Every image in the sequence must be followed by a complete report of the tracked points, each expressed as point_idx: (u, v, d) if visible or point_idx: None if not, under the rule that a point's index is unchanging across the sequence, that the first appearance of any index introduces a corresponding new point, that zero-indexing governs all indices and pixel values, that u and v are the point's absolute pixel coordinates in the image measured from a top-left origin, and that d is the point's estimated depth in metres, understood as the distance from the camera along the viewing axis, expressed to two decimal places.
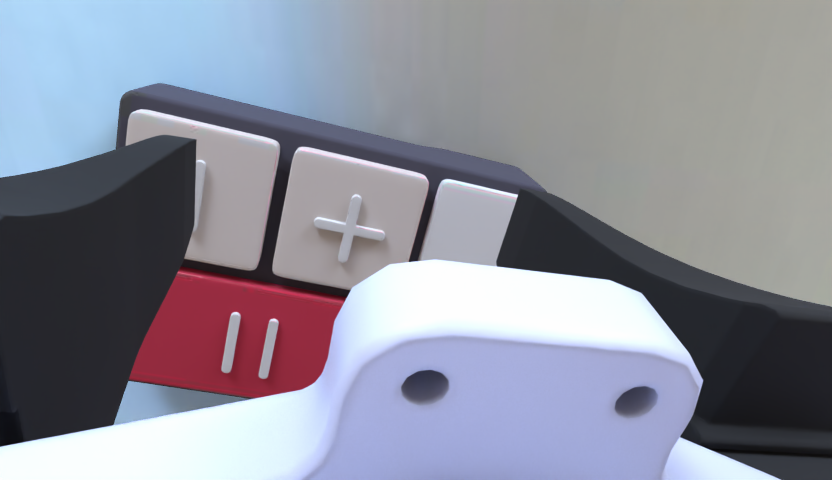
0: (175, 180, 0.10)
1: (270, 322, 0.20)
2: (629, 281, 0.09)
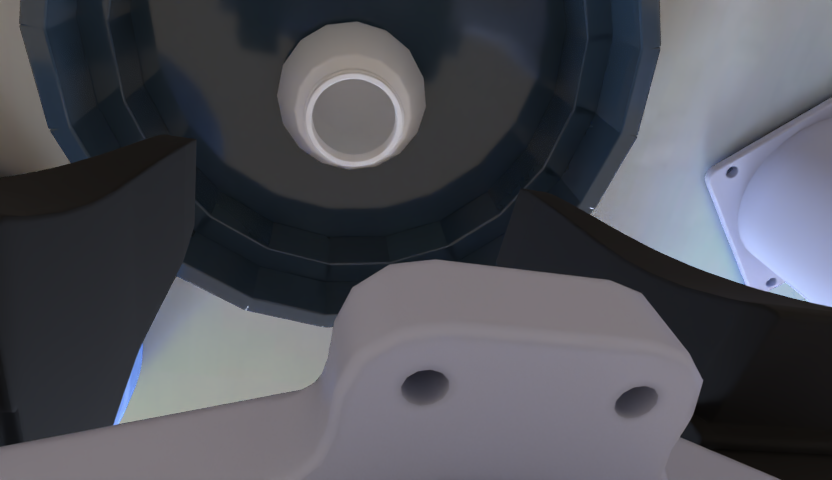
0: (175, 180, 0.10)
1: None
2: (628, 281, 0.09)
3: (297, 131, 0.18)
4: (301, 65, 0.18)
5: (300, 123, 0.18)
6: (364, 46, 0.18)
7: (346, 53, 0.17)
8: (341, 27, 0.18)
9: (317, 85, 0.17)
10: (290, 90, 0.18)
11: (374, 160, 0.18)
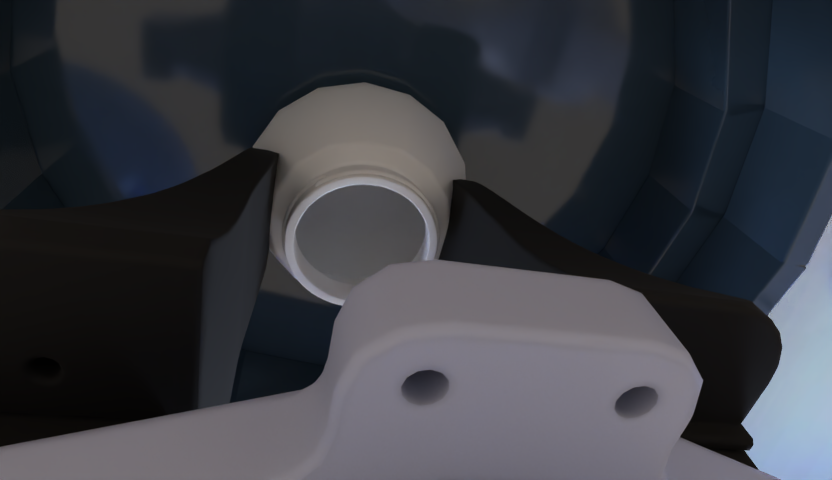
0: (268, 193, 0.10)
1: None
2: (524, 270, 0.08)
3: (273, 252, 0.12)
4: None
5: (277, 242, 0.12)
6: (377, 126, 0.11)
7: (349, 139, 0.11)
8: (341, 93, 0.12)
9: (302, 193, 0.11)
10: None
11: None
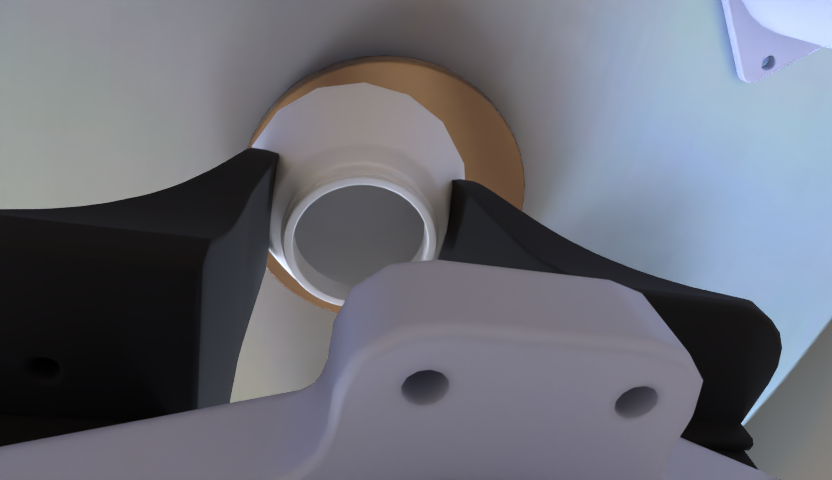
0: (268, 193, 0.10)
1: None
2: (524, 269, 0.08)
3: (272, 252, 0.12)
4: None
5: (276, 242, 0.12)
6: (376, 126, 0.11)
7: (348, 139, 0.11)
8: (340, 94, 0.12)
9: (301, 193, 0.11)
10: None
11: None
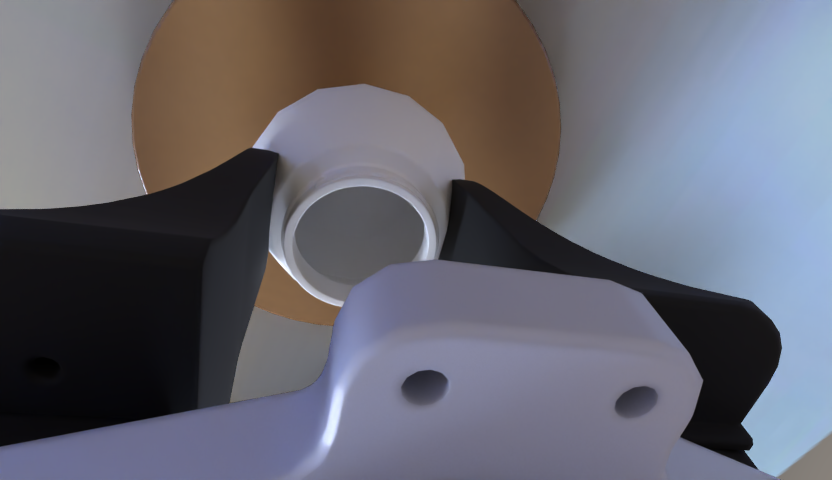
0: (268, 193, 0.10)
1: None
2: (524, 270, 0.08)
3: (273, 253, 0.12)
4: (278, 156, 0.11)
5: (277, 244, 0.12)
6: (377, 128, 0.11)
7: (348, 141, 0.11)
8: (340, 95, 0.12)
9: (302, 195, 0.11)
10: None
11: None
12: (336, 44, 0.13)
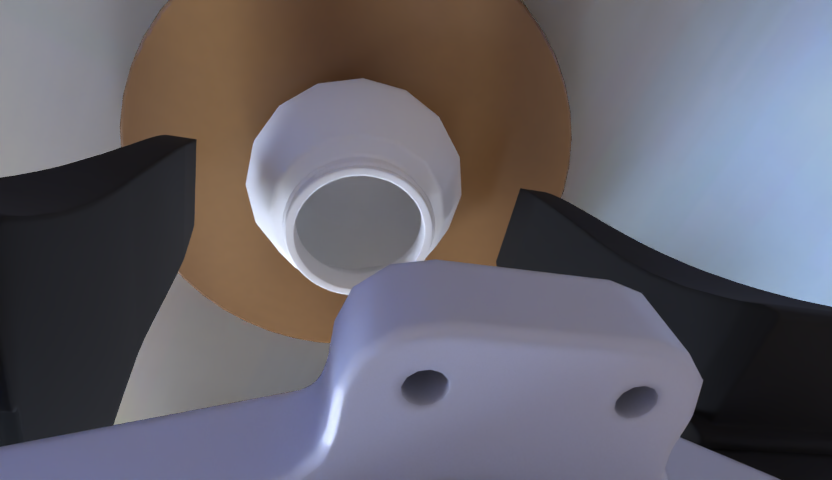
0: (175, 180, 0.10)
1: None
2: (628, 282, 0.09)
3: (274, 242, 0.12)
4: (279, 148, 0.12)
5: (278, 232, 0.12)
6: (375, 120, 0.12)
7: (347, 132, 0.11)
8: (339, 89, 0.12)
9: (302, 184, 0.11)
10: (263, 183, 0.12)
11: None
12: (336, 52, 0.12)
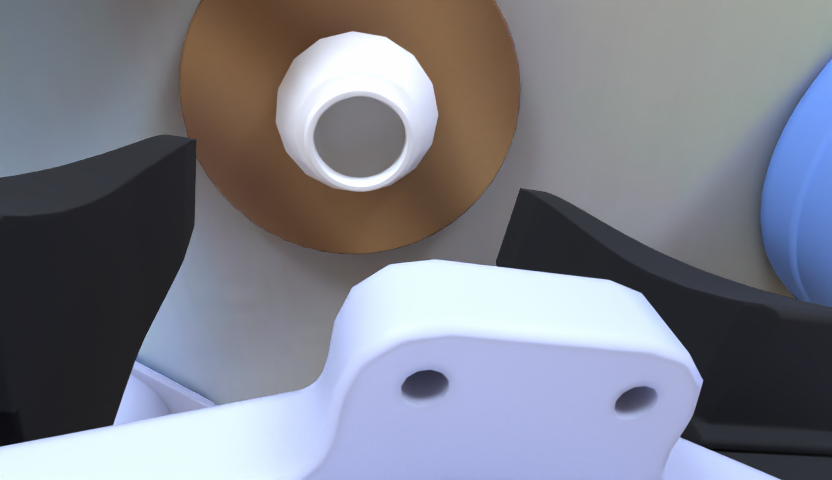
0: (175, 180, 0.10)
1: None
2: (628, 282, 0.09)
3: (404, 83, 0.16)
4: (426, 140, 0.17)
5: (406, 97, 0.16)
6: None
7: (394, 179, 0.17)
8: (403, 176, 0.19)
9: None
10: (427, 113, 0.17)
11: (316, 114, 0.15)
12: (409, 178, 0.20)
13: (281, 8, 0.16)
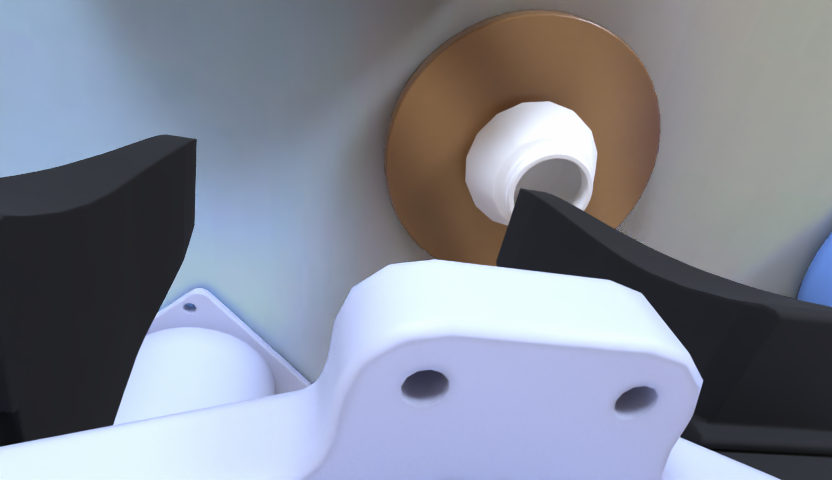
0: (175, 180, 0.10)
1: None
2: (628, 282, 0.09)
3: (590, 152, 0.20)
4: None
5: (589, 163, 0.20)
6: None
7: None
8: None
9: None
10: None
11: (527, 166, 0.19)
12: None
13: (497, 72, 0.20)
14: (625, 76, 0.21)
